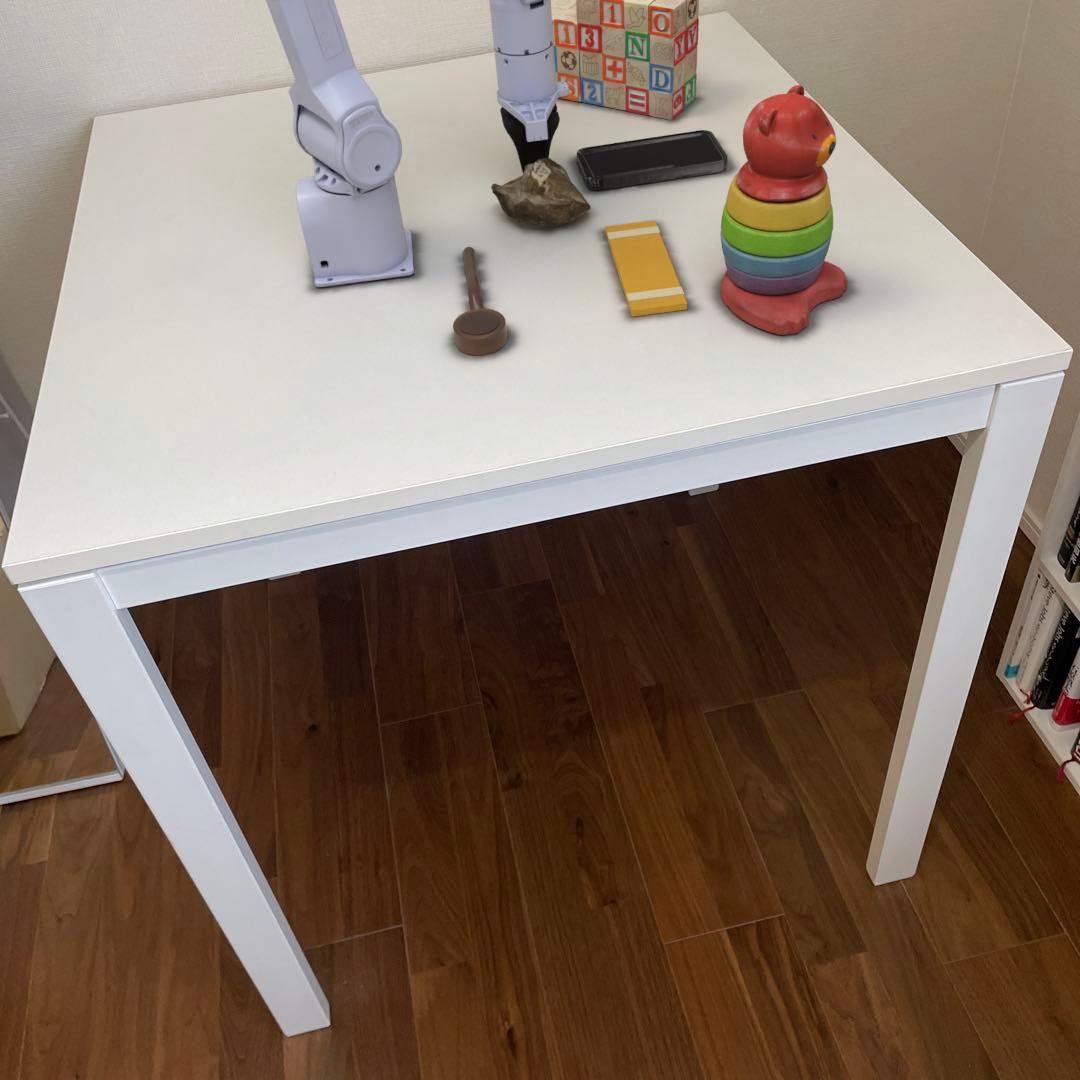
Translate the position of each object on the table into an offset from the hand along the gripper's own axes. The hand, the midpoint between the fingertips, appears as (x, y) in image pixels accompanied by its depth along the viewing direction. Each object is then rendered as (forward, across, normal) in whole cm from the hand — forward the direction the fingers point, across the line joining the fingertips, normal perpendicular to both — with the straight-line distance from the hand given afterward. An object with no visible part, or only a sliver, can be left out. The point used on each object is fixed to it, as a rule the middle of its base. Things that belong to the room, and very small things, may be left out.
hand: (535, 177), depth 114 cm
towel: (+1, -18, -8) cm, 20 cm away
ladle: (+1, -20, +8) cm, 21 cm away
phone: (+1, +2, -13) cm, 13 cm away
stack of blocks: (+2, +21, -11) cm, 24 cm away
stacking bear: (+2, -25, -19) cm, 31 cm away
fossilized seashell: (+2, -6, 0) cm, 6 cm away
